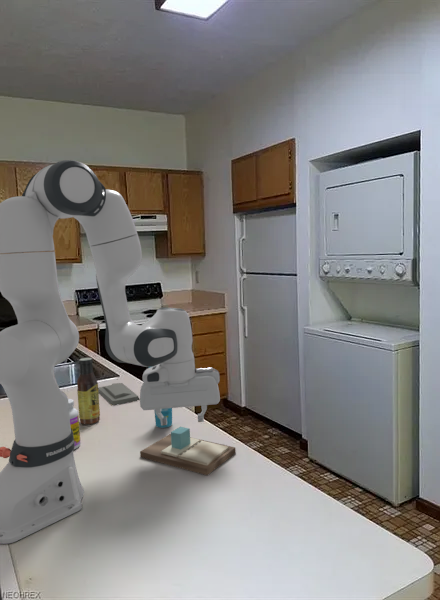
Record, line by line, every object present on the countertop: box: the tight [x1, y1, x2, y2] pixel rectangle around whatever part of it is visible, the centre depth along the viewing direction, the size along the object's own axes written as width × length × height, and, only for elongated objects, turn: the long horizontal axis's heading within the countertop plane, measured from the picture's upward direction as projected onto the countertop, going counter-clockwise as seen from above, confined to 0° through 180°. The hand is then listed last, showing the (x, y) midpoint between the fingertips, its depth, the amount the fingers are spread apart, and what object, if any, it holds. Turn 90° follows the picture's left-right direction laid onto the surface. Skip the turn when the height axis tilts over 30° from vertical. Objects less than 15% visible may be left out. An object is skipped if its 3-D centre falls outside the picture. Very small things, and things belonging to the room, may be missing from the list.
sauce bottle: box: [76, 357, 101, 425], centre depth 143 cm, size 7×6×20 cm
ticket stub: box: [161, 426, 201, 457], centre depth 119 cm, size 10×5×5 cm, turn 148°
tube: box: [148, 366, 173, 429], centre depth 138 cm, size 7×5×19 cm, turn 98°
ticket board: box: [139, 433, 237, 476], centre depth 118 cm, size 13×20×2 cm, turn 58°
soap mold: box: [98, 382, 140, 406], centre depth 169 cm, size 10×20×4 cm, turn 28°
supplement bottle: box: [68, 398, 81, 451], centre depth 126 cm, size 7×7×13 cm
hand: (182, 422), depth 119 cm, fingers open, 8 cm apart
